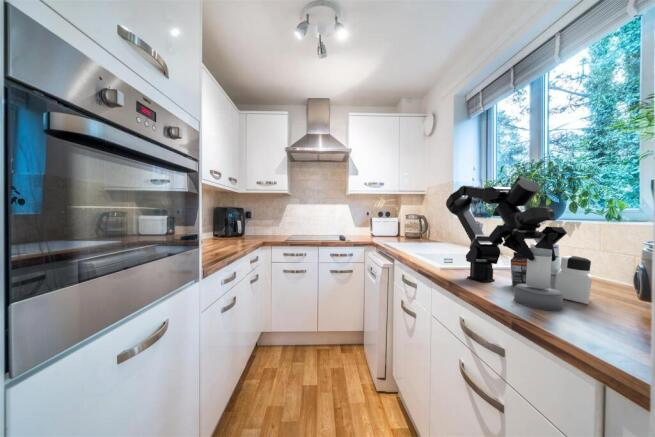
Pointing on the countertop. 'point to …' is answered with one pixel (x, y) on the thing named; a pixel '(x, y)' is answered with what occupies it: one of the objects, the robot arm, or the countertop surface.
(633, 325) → the countertop surface
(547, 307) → the charcoal stand
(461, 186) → the robot arm
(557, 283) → the medicine bottle
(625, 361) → the countertop surface
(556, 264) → the syrup box
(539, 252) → the white and grey cylinder
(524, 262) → the supplement bottle
